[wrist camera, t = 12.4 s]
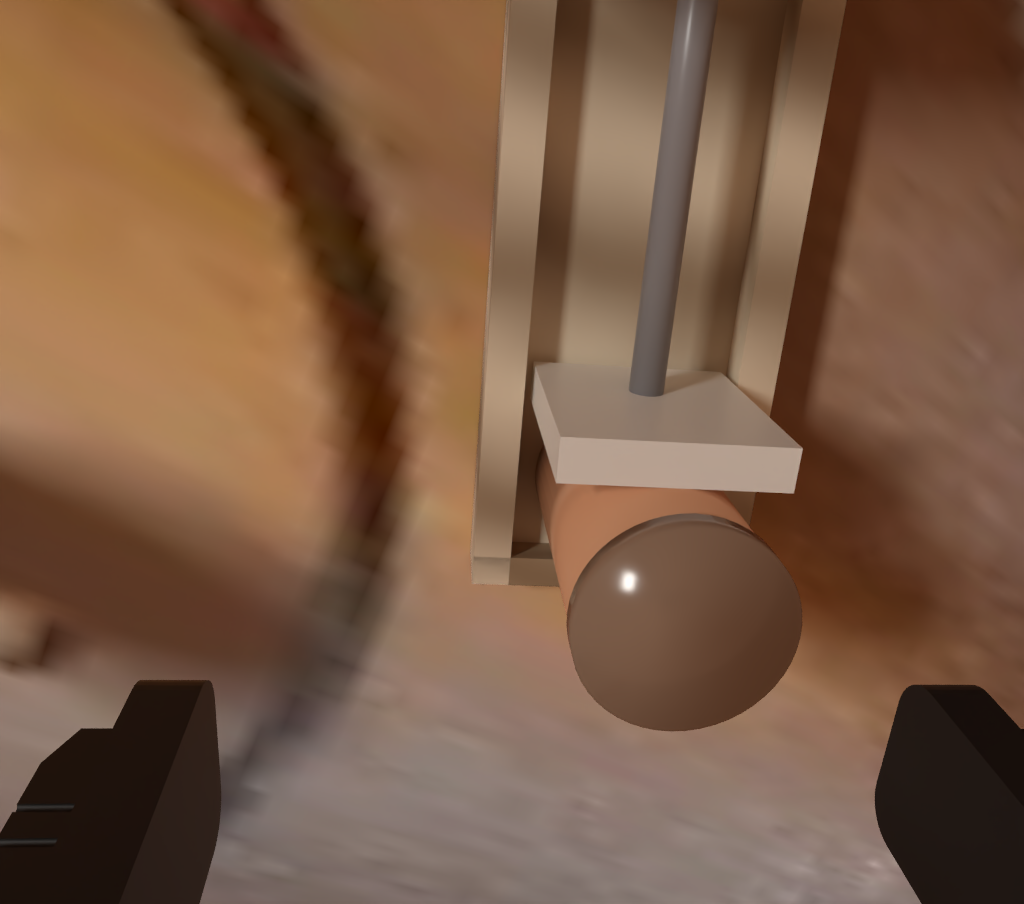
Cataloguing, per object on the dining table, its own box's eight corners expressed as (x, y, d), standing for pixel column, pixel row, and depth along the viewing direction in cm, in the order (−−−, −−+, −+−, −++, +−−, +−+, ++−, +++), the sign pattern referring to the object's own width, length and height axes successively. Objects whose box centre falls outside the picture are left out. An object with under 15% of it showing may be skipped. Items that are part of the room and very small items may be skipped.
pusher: (593, -339, 22) (657, -534, 15) (830, -309, 22) (990, -484, 16) (530, 398, 28) (555, 483, 22) (715, 407, 29) (793, 493, 22)
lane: (519, -184, 24) (562, -360, 15) (842, -148, 25) (1063, -294, 16) (470, 553, 32) (480, 724, 23) (718, 562, 32) (821, 730, 24)
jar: (539, 392, 29) (584, 523, 19) (704, 401, 29) (823, 533, 20) (525, 544, 30) (560, 729, 21) (680, 550, 31) (778, 733, 22)
